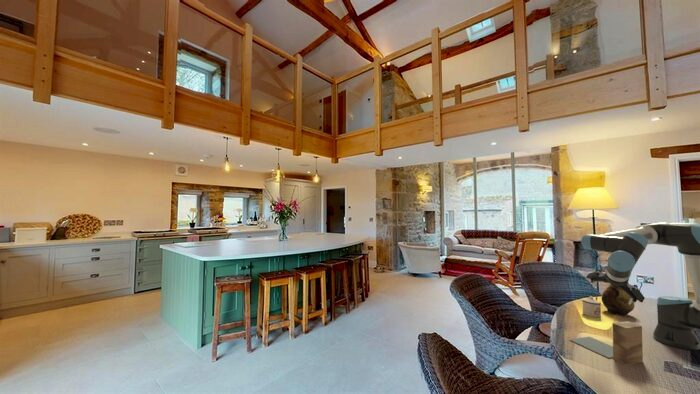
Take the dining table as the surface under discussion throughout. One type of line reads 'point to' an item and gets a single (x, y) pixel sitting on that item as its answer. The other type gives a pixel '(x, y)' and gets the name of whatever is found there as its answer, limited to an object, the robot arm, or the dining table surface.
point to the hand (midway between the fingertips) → (611, 293)
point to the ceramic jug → (617, 301)
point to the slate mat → (595, 346)
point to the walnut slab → (627, 342)
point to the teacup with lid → (591, 307)
